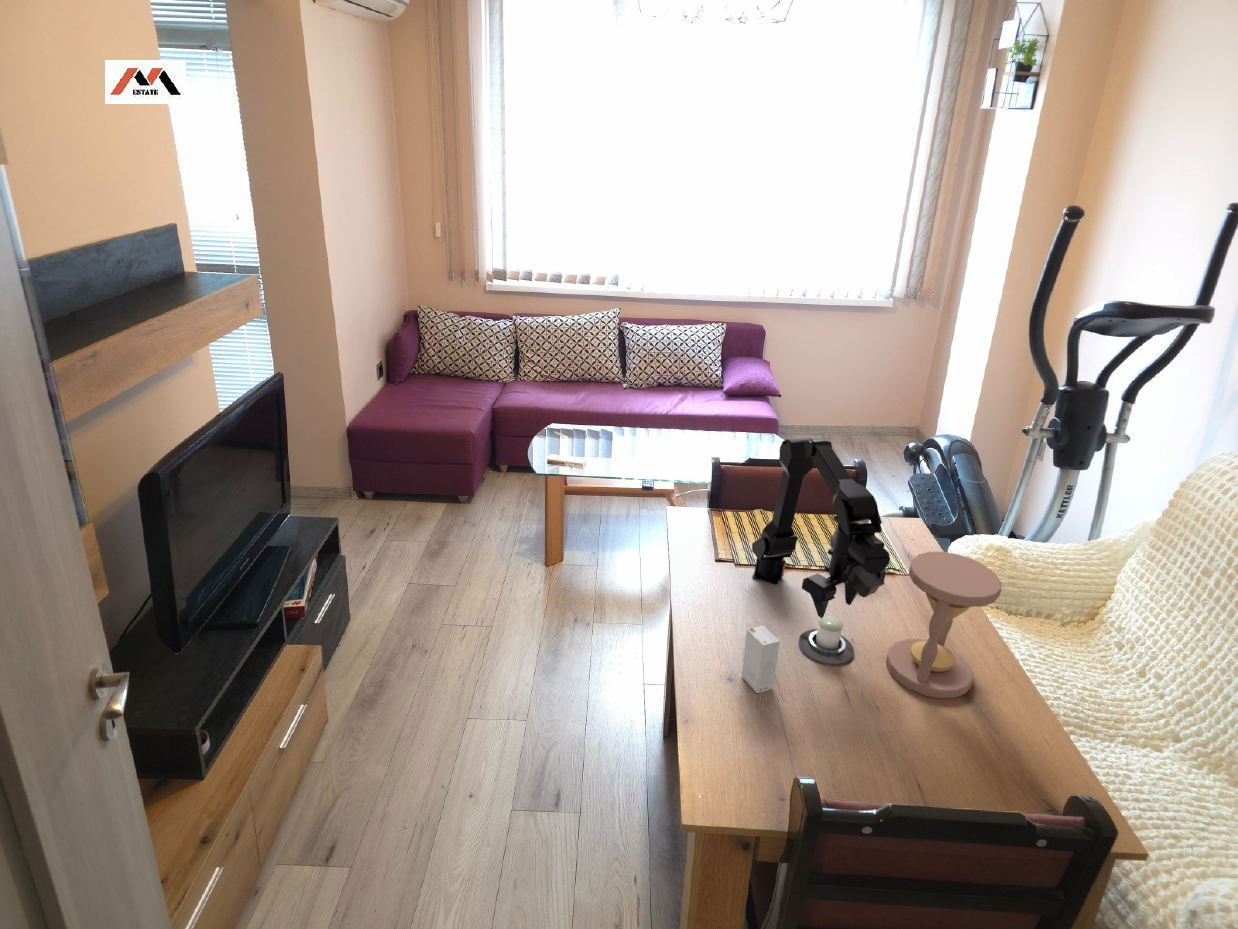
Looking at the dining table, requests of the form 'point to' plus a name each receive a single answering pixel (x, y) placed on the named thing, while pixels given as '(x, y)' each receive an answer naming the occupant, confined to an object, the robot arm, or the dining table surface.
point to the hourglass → (942, 623)
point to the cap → (828, 633)
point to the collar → (822, 655)
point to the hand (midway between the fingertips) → (834, 610)
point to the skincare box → (760, 659)
